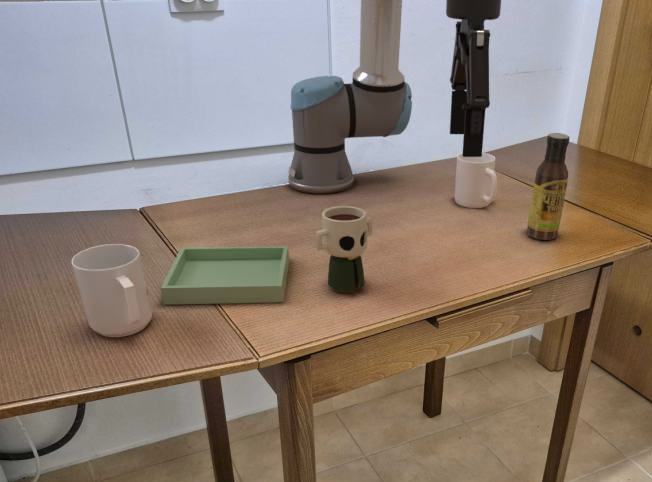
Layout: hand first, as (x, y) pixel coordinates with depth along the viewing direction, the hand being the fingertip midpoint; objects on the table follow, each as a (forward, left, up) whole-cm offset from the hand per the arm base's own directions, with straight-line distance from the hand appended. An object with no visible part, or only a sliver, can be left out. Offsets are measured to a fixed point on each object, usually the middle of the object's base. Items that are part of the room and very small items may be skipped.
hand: (464, 144), depth 99 cm
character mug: (+1, -19, -24) cm, 30 cm away
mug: (+14, -51, -24) cm, 58 cm away
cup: (-37, +11, -24) cm, 46 cm away
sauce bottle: (-19, +21, -24) cm, 37 cm away
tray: (-1, -38, -23) cm, 45 cm away
